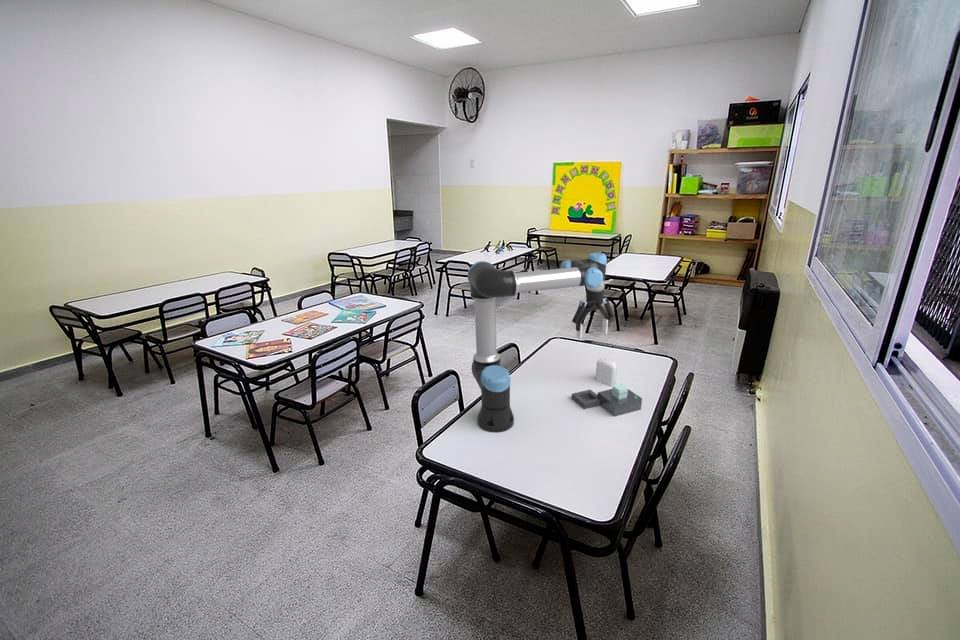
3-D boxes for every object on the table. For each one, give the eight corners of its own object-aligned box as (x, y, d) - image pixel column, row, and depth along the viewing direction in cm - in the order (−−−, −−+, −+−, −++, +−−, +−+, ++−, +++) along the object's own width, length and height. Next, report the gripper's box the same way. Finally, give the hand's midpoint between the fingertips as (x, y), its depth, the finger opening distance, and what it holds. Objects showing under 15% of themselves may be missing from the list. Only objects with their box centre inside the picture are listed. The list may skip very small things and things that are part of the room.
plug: (617, 409, 188) (619, 390, 185) (610, 403, 192) (612, 385, 189) (626, 406, 190) (628, 388, 187) (619, 401, 194) (621, 383, 191)
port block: (614, 417, 184) (615, 404, 182) (596, 404, 194) (597, 391, 192) (640, 410, 189) (642, 397, 186) (622, 397, 199) (623, 385, 197)
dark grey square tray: (584, 410, 190) (584, 404, 189) (571, 399, 198) (571, 393, 197) (603, 405, 193) (603, 399, 192) (589, 395, 202) (590, 389, 201)
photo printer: (593, 380, 215) (595, 357, 211) (599, 378, 218) (601, 355, 214) (611, 388, 208) (613, 364, 204) (617, 385, 210) (619, 362, 206)
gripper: (575, 294, 181) (572, 342, 188) (624, 287, 189) (620, 333, 196) (565, 290, 187) (563, 336, 194) (613, 283, 196) (609, 328, 203)
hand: (591, 335), depth 195 cm, fingers open, 13 cm apart
